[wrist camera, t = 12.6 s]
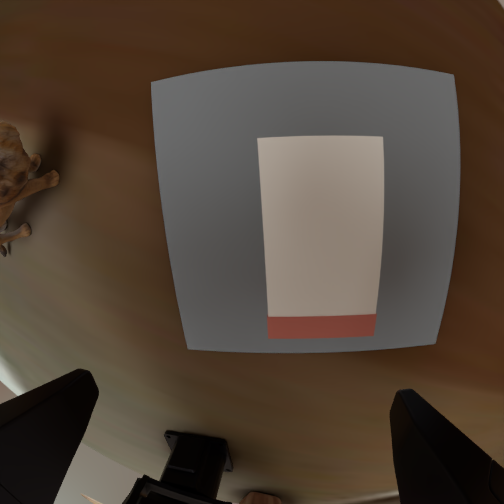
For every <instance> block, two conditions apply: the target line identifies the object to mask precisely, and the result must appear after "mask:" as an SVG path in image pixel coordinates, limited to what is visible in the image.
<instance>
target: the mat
mask: <svg viewBox="0 0 504 504" xmlns="http://www.w3.org/2000/svg"><path fill="white" fill-rule="evenodd" d="M151 92H152V110H153V125H154V138H155V149H156V160H157V169H158V178H159V187H160V195H161V203H162V211H163V218H164V225H165V232H166V238H167V245H168V251H169V257H170V263H171V269H172V274H173V280H174V285H175V291H176V296H177V301H178V306H179V311H180V316H181V321H182V325H183V330H184V335H185V339H186V343H187V348H188V349H192V350H206V351H224V352H248V353H324V352H349V351H366V350H380V349H392V348H402V347H412V346H421V345H429V344H435V342H436V339H437V335H438V331H439V327H440V324H441V319H442V315H443V311H444V307H445V302H446V297H447V292H448V287H449V282H450V276H451V270H452V264H453V257H454V250H455V242H456V234H457V224H458V212H459V195H460V134H459V118H458V106H457V97H456V88H455V81H454V75H452V74H447V73H442V72H437V71H431V70H425V69H419V68H412V67H405V66H397V65H387V64H376V63H362V62H339V61H304V62H281V63H266V64H255V65H245V66H237V67H229V68H222V69H215V70H209V71H203V72H197V73H191V74H186V75H181V76H176V77H172V78H167V79H163V80H159V81H155V82H151ZM287 136H379V137H383V149H384V221H383V242H382V257H381V269H380V280H379V290H378V299H377V307H376V314H377V317H376V324H375V330H374V336H364V337H344V338H310V339H268V326H267V315H268V303H267V285H266V268H265V250H264V234H263V218H262V202H261V187H260V172H259V157H258V143H257V138H267V137H287Z"/></svg>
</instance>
